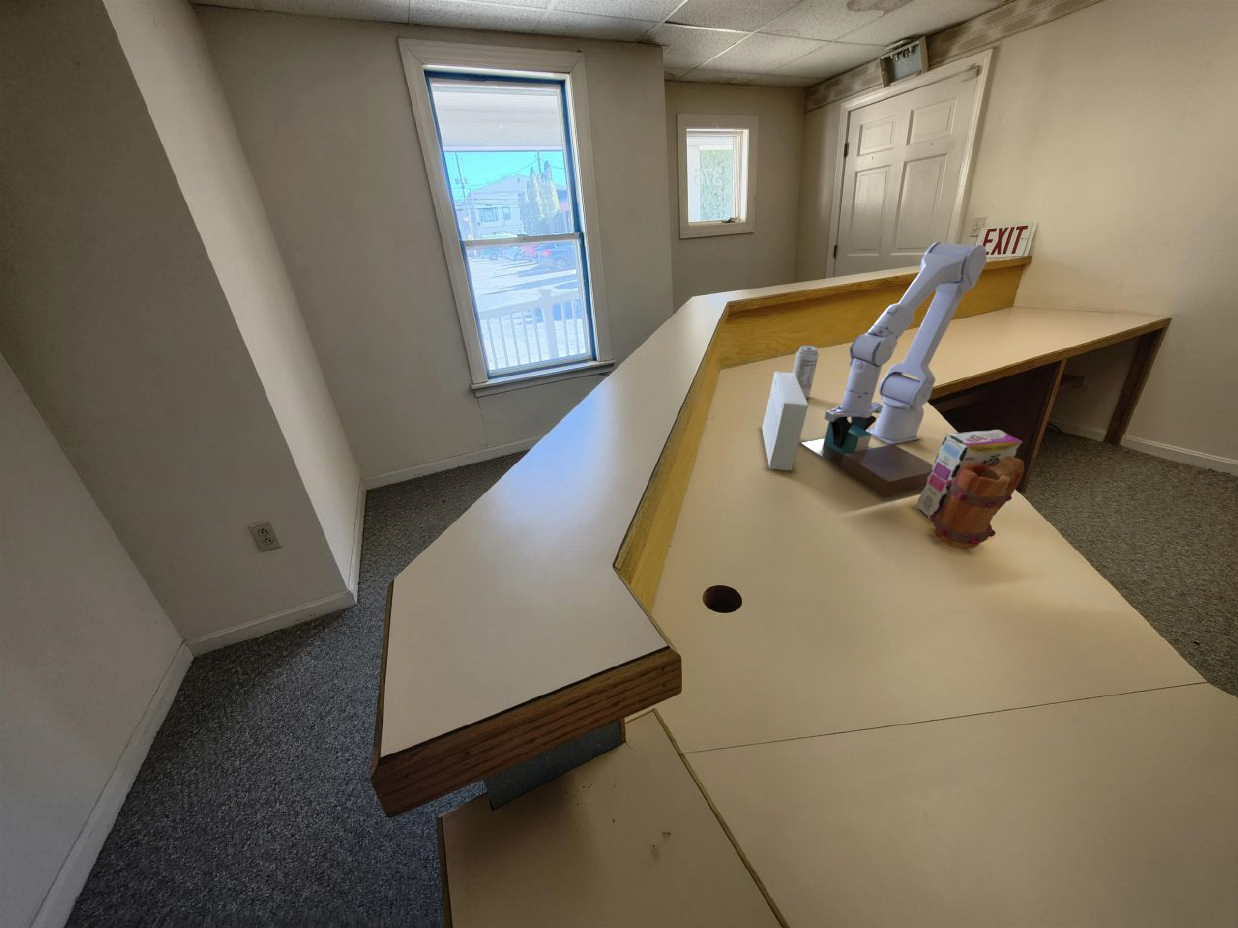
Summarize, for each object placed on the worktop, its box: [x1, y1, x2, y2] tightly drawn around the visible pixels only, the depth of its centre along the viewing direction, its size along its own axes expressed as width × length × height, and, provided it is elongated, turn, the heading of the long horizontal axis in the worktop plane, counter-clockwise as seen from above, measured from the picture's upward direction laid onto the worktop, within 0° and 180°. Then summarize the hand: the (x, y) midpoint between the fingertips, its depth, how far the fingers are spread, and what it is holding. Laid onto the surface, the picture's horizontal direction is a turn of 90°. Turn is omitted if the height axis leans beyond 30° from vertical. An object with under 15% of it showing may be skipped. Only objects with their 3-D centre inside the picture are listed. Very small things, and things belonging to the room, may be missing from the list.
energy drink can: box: [792, 345, 820, 400], centre depth 134 cm, size 6×6×15 cm
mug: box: [930, 456, 1025, 551], centre depth 77 cm, size 15×8×15 cm, turn 114°
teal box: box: [823, 421, 873, 456], centre depth 106 cm, size 4×9×6 cm, turn 19°
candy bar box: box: [914, 429, 1023, 522], centre depth 83 cm, size 11×5×16 cm, turn 100°
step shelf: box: [801, 437, 933, 498], centre depth 102 cm, size 14×25×4 cm, turn 19°
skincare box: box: [761, 371, 809, 471], centre depth 105 cm, size 21×6×16 cm, turn 168°
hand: (845, 444), depth 107 cm, fingers open, 4 cm apart
